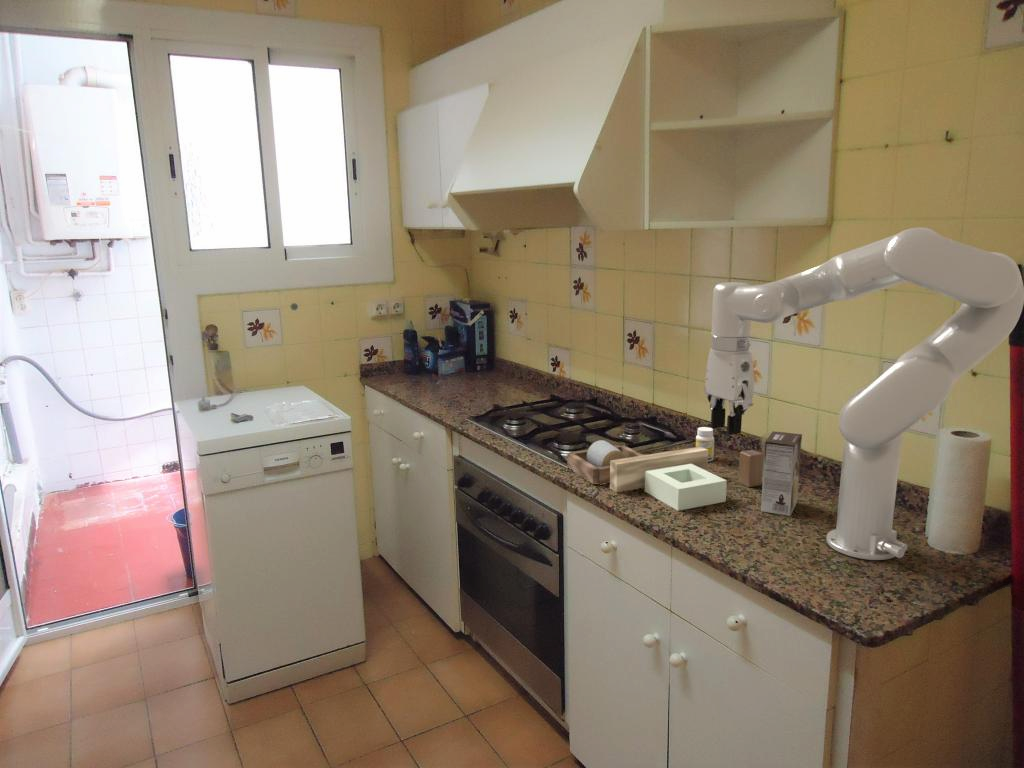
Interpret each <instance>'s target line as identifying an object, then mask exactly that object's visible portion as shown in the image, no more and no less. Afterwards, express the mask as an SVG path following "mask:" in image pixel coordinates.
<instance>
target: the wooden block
mask: <svg viewBox="0 0 1024 768" xmlns="http://www.w3.org/2000/svg"><path fill="white" fill-rule="evenodd" d="M738 464H739V465H738V483H739V484H740V485H743V486H745V487H747V488H753V487H757V486H761V485H763V470H764V453H762V452H759V451H757V450H754V449H750V450H749V449H748V450H741V451H740V452H739V463H738Z"/></svg>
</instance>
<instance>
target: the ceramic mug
mask: <svg viewBox="0 0 1024 768" xmlns="http://www.w3.org/2000/svg"><path fill="white" fill-rule="evenodd" d="M614 446H615V445H613V444H611V443H610V442H608V441H607V440H602V439H601V440H597V441H594V442H592V443H591V445H590V446H589V448H588V449H587V450H588V452H587V461H588V463H590V464H592V465H593V466H595V467H597V468H598V467H604V466H610V461H611V460H618V459H624V458H625V456H624V454H623V453H622V452H621V451H620V450H619V449H617V448H616V447H614Z"/></svg>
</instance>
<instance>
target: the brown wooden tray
mask: <svg viewBox="0 0 1024 768" xmlns="http://www.w3.org/2000/svg"><path fill="white" fill-rule="evenodd" d="M613 446H614V447H616V448H617V449H619V450H620V451H621V452H622V453H623V454H624V456H625V458H630V457H637V456H643V455H644V454H642V453H640V452H638V451H636V450H634V449H632V448H630V447H628V446H627V445H624V444H623V445H613ZM587 452H588V449H584V450H577V451H572V452H570V453H567V455H566V456H567V458H566V459H567V460H566V461H567V462H566V463H567V464H566V466H569V467H570V468H571V469H572V470H573V471H575V472H577V473H578V474H579V475H581V476H582V477H584V478H585V479H587V480H588V481H590V482H591V483H593V484H594V483H599V484H603V483H610V466H604V467H598V468H597V467H595V466H593V465H592V464H590V463H588V461H587ZM599 484H598V485H599Z"/></svg>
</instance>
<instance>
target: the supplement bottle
mask: <svg viewBox="0 0 1024 768" xmlns="http://www.w3.org/2000/svg"><path fill="white" fill-rule="evenodd" d="M696 432H697V433H696V434H697V435H696V437H695V447H703V448H705V449H708V462H711V461H713V460H714V456H715V455H714V452H715V450H714V449H715V437H714V429H713V428H711V427H710V426H709V427H708V426H701V427H697V431H696Z"/></svg>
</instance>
